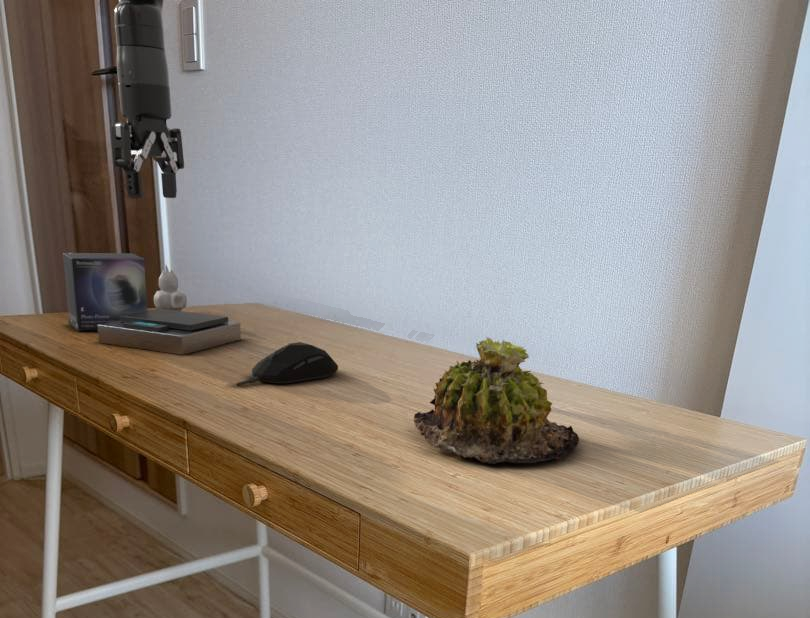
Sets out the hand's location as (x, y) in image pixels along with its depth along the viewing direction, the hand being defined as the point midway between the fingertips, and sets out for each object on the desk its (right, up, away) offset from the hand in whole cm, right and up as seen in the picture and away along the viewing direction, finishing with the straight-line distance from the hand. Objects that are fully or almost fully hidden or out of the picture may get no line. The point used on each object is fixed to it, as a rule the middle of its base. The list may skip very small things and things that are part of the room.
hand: (153, 198), depth 133 cm
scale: (+7, -26, -14) cm, 31 cm away
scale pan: (+8, -24, -15) cm, 29 cm away
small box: (-5, -23, -7) cm, 24 cm away
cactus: (+49, -45, -52) cm, 85 cm away
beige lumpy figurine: (+1, -17, +8) cm, 18 cm away
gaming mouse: (+26, -35, -32) cm, 54 cm away
